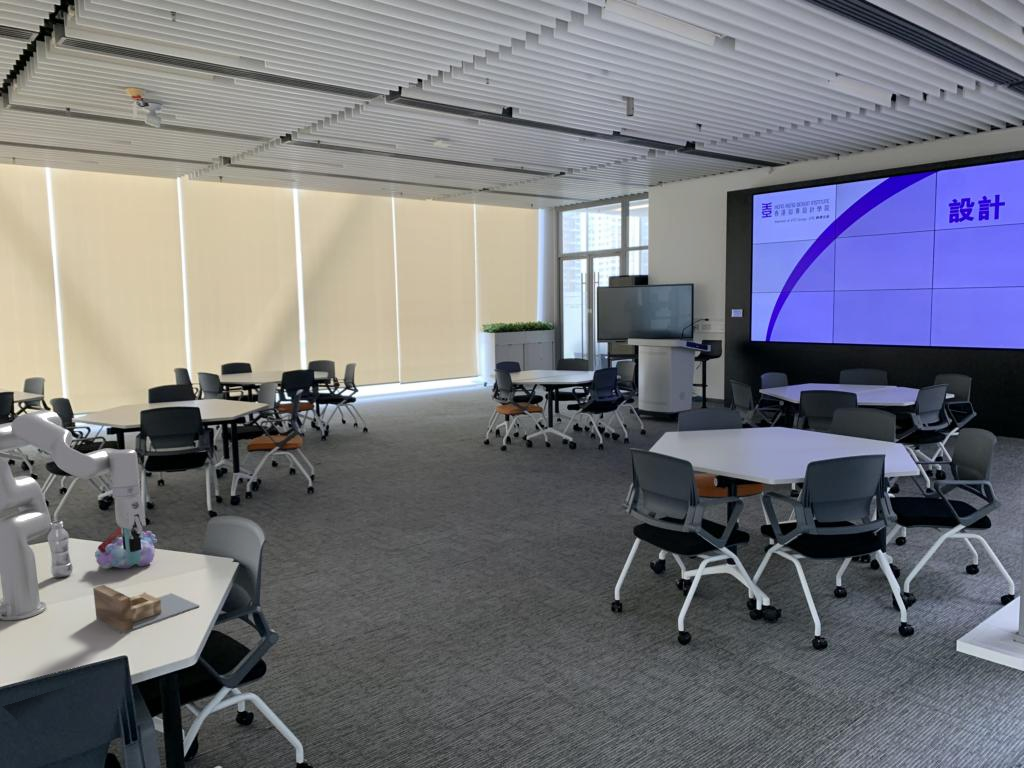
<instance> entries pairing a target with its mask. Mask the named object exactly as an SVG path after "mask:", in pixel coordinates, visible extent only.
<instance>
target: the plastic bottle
mask: <svg viewBox="0 0 1024 768" xmlns="http://www.w3.org/2000/svg"><path fill="white" fill-rule="evenodd" d="M50 529H51V530H50V531H49V533H48V535H47V541H48V545H49V549H50V553H51V568H50V572H51V575H52V576H53V577H54V578H64V577H68V576H70V575H71V574H72V573H73V568H74V567H73V563H72V562H71V557H70V551H69V533H68V532H67V530H66V529H65V528H64V522H63V520H54V521H51V525H50Z"/></svg>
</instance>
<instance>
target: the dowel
mask: <svg viewBox="0 0 1024 768" xmlns="http://www.w3.org/2000/svg"><path fill="white" fill-rule="evenodd" d="M133 528H135V526H133ZM134 531H136V530H133V531H132V532H134ZM124 536H125V545H126V555H127V564H129V565H133V564H135V565H138V564H137V563H140V562H141V561H140V551H139V550H138V551H135V552H130V546H129V539H130V535H129V529H126V528H124ZM133 566H134V565H133Z"/></svg>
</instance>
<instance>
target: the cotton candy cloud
mask: <svg viewBox="0 0 1024 768" xmlns="http://www.w3.org/2000/svg"><path fill="white" fill-rule="evenodd" d="M123 537H124V536H123ZM140 539H141V550H139V551H140V561H141V562H140V563H137V564H133V565H129V564H127V555H126V550H124V549H123V540H122V535H121V528H120V527H119V526H118V528H117V529H115V530H114V531H113V532H112V533H111V534H110V535H109V536H108V537H107V538H106V539H104V541H102V542H101V544H99V545H98V546H97V549H96V551H95V552H94V557H95V559H96V560H95V562H96V563H97V564H98V566H100V568H101V569H107V570H109V569H111V568H112V567H116V568H120V569H121V568H122V569H125V570H126V569H127V570H128V569H130V568H131V567H134V566H135V565H138V566H139V567H144V566H148V565H150V564H151V562H153V560H154V558H155V552H156V550H155V549H156V548H155V545H154V544H156V543H157V542H158V539H157V538H156V535H155V534H154V533H152V531H151V530H146V531H142V532H141V537H140Z"/></svg>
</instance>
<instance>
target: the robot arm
mask: <svg viewBox="0 0 1024 768" xmlns="http://www.w3.org/2000/svg"><path fill="white" fill-rule="evenodd" d="M72 442H73V434H72V432H71V431H70V430H68V429H67V428H64V427H63V422H62V419H61V417H60V416H59V415H58V414H57V413H56V412H55V411H51V410H48V409H44V410H38V411H32V412H28V413H27V412H26V413H23V414H21V415H18V416H17V417H16V418H14V420H13V421H12V422H7V423H6V422H5V423H2V424H1V423H0V454H1V453H4V452H8V451H12V450H17V449H20V448H24V447H27V446H33V447H34V448H37V449H39V450H41V451H43V452H45V453H47V454H49V455H51V458H52V460H53V462H54V463H55V465H56V466H57V467H58V468H59V469H60V470H62V471H64V472H65V473H67V474H69V475H71V476H74V477H76V478H79V479H81V480H82V479H83V480H90V479H91V480H92V479H94V478H98V477H99V476H104V475H107V474H110V478H111V479H110V480H111V488H112V489H111V490H112V499H113V498H114V512H115V513H114V514H115V522H116V525H117V526H118V528H119V527H120V528H121V535H122V540H123V549H124V550H126V545H125V536H124V528H126V529H129V535H130V539H129V546H130V552H135V551H138V550H141V539H140V537H141V532H144V531H143V527H146V526H147V525H146V524H147V522H146V516H145V509H144V504H143V500H142V495H141V494H142V491H141V479H140V473H139V472H140V471H139V462H138V461H139V459H138V453H137V452H136V450H134V449H129V448H128V449H127V448H126V449H116V448H110V447H108V448H106V447H105V448H102V449H98V450H93V451H90V452H88V453H87V452H86V453H83V452H80V451H78V450H76V449H74V448H72V447H71V444H72ZM43 493H44V492H43V490H42V488H41V486H40V484H39V483H38V481H37V480H36V479H34V478H33V477H31V476H30V475H29V476H28V475H19V476H16V477H14V476H13V473H12V470H11V467H10V465H9V464H8V462H7V461H6V460H5V459H4V458H3V457H2V456H0V513H6V512H10V511H12V510H16V509H18V511H19V512H18V511H17V512H14V513H12V514H9V515H6V516H3V517H2V518H0V583H1V590H2V591H1V592H2V601H0V620H2V621H17V620H24V619H27V618H30V617H34V616H36V615H40V614H41V613H43V612H44V611H45V610H46V609H47V603H45V602H44V601H41V598H40V590H39V582H38V581H39V580H38V572H37V564H36V562H37V561H36V556H35V553H34V551H33V549H32V548H31V547H30V545H29V544H28V542H29V541H31V540H34V539H36V538H38V537H41V536H43V535H45V534H46V533H48V531H49V530H50V529H51V522H52V521H51V515H50V511H49V509H48V505H47V503H46V502H47V501H46V498H45V497H44V494H43ZM133 526H135V528H133ZM133 530H136V531H134V532H132V531H133ZM123 536H124V537H123Z"/></svg>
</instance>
